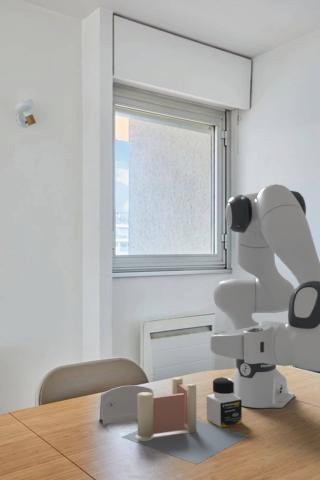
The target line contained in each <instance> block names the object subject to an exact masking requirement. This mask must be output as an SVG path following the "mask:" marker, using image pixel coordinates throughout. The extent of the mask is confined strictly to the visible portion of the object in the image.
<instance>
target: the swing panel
mask: <svg viewBox="0 0 320 480" xmlns="http://www.w3.org/2000/svg"><path fill="white" fill-rule="evenodd" d="M153 395H154V392H153V393H149V392H142V393H138V394H137V397H138V420H137V431H138V436H140V437H151V436H153V434H157V433H164V432H170V431H177V430H183V429H185V415H184V394H183V393H179V394H172V393H171V394H166V395H156V396H155V395H154V397H153Z"/></svg>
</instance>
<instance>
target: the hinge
mask: <svg viewBox="0 0 320 480" xmlns="http://www.w3.org/2000/svg"><path fill="white" fill-rule="evenodd" d="M142 392H149V393H153V397H155V395H154V391H153V389H152V388H149V387H146V386H142V385H122V386H118V387H114V388H111V389H108V390H107V391H105V392H103V393H101V395H100V407H99V420H100V421H101V420H102V426H105V425H106V426H107V425H108V424H112V423H120V422H128V421H129V422H130V421H138V397H137V394H138V393H142Z"/></svg>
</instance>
